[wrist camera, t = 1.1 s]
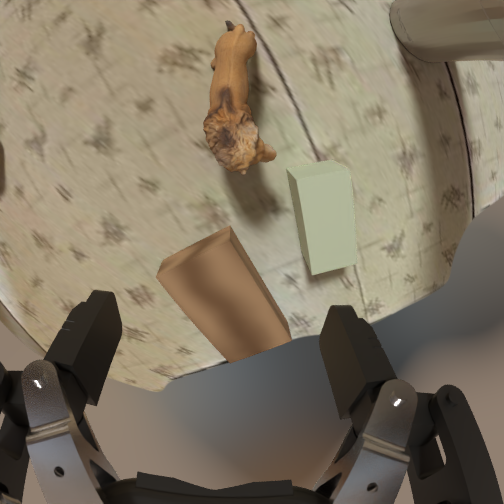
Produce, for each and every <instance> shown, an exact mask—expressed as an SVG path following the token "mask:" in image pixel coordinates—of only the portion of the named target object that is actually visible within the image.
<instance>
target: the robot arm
mask: <svg viewBox="0 0 504 504" xmlns="http://www.w3.org/2000/svg"><path fill="white" fill-rule="evenodd" d="M390 20H391V24H392V27H393V29H394V31H395V33H396V35H397V37H398V38H399V40H400V41H401V43H402V44H403V45H404V46H405V48H406V49H407V50H408V51H410V52H411V53H412V54H413V55H414V56H416V57H417V58H419V59H421V60H423V61H426V62H430V63H436V62H449V61H475V60H491V61H504V0H395V1H394V2H393V3H392V5H391V8H390ZM121 335H122V322H121V318H120V314H119V310H118V306H117V302H116V298H115V295H114V293H113V292H109V291H100V290H94V291H93V292H92V293H91V295H90V296H89V298H88V299H87V301H86V302H81V303H80V304H78V305H77V306H76V307H75V308H73V309H72V311H71V312H70V314H69V316H68V317H67V319H66V321H65V322H64V324H63V325H62V329H60V331H59V332H58V334H57V336H56V338H55V339H54V341H53V343H52V345H51V346H50V348H49V350H48V352H47V354H46V356H45V358H44V359H43V360H36V361H33V362H32V363H30V364H29V365H28V366H27V367H26V368H25V369H24V371H7V370H6V369H5V367H4V366H3V365H2V363H1V362H0V414H1V411H2V412H3V413H4V414H5V417H4V420H3V423H2V426H1V429H0V504H22V497H23V490H24V484H25V478H26V473H27V468H28V463H29V458H30V459H31V462H32V465H33V468H34V471H35V473H36V476H37V479H38V482H39V485H40V487H41V490H42V492H43V494H44V497H45V499H46V501H47V504H394V501H395V499H396V497H397V494H398V492H399V489H400V486H401V484H402V482H403V479H404V476H405V473H406V470H407V472H408V476H409V481H410V484H411V489H412V494H413V499H414V504H503V501H502V496H501V492H500V489H499V485H498V481H497V478H496V475H495V471H494V468H493V465H492V462H491V459H490V456H489V453H488V451H487V448H486V445H485V442H484V440H483V437H482V435H481V432H480V430H479V427H478V425H477V423H476V420H475V418H474V415H473V413H472V411H471V409H470V406H469V404H468V402H467V400H466V398H465V396H464V394H463V393H462V391H461V390H460V389H459V388H457V387H455V386H453V385H444V386H442V387H441V388H440V389H439V390H438V391H437V392H436V393H435V394H431V393H418V392H416V391H415V389H414V388H413V387H412V386H411V385H410V384H409V383H407V382H405V381H403V380H399V379H397V377H396V375H395V373H394V371H393V368H392V366H391V364H390V362H389V360H388V358H387V356H386V354H385V352H384V350H383V348H381V344H380V342H379V340H377V336H376V334H375V332H374V330H373V328H372V327H371V326H370V325H369V324H368V323H367V322H366V321H365V320H364V319H363V318H358V317H357V315H356V313H355V311H354V309H353V307H352V306H351V305H332V306H331V307H330V308H329V311H328V314H327V317H326V320H325V323H324V326H323V328H322V331H321V334H320V340H319V345H320V350H321V354H322V357H323V361H324V364H325V367H326V371H327V374H328V378H329V381H330V385H331V388H332V392H333V395H334V399H335V402H336V406H337V409H338V413H339V417H340V419H346V418H351V420H352V423H353V424H352V425H351V426H350V428H349V430H348V432H347V434H346V436H345V438H344V440H343V442H342V444H341V446H340V448H339V450H338V451H337V453H336V455H335V457H334V459H333V461H332V462H331V464H330V466H329V467H328V469H327V470H326V471H325V472H324V473H323V475H322V476H321V477H320V479H319V480H318V481H317V483H316V484H315V486H314V488H313V489H312V490H309V489H306V488H302V487H297V486H292V481H291V480H282V481H267V482H252V483H248V484H244V485H239V486H234V487H229V488H224V489H218V490H210V489H207V488H204V487H200V486H197V485H194V484H190V483H187V482H184V481H181V480H178V479H176V478H171V477H164V476H158V475H152V474H147V473H142V472H137V478H130V479H123V480H120V478H119V476H118V475H117V473H116V471H115V470H114V468H113V467H112V465H111V464H110V463H109V461H108V460H107V459H106V457H105V455H104V454H103V452H102V450H101V448H100V445H99V443H98V441H97V439H96V437H95V435H94V433H93V430H92V428H91V426H90V423H89V421H88V418H87V416H86V414H85V412H84V409H85V406H86V404H90V405H94V406H97V404H98V401H99V397H100V394H101V391H102V388H103V385H104V382H105V379H106V377H107V374H108V371H109V368H110V365H111V362H112V360H113V357H114V354H115V352H116V349H117V346H118V344H119V341H120V339H121ZM438 435H439V437H440V440H441V443H442V446H443V449H444V452H445V455H446V464H445V465H444V463H443V460H442V456H441V454H440V450H439V447H438V444H437V441H436V438H435V437H436V436H438Z"/></svg>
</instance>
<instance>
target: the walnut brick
mask: <svg viewBox="0 0 504 504" xmlns="http://www.w3.org/2000/svg"><path fill="white" fill-rule="evenodd" d="M156 278H157V279H158V281H159V282H160V283H161V285H162V286H163V287H164V288H165V290H166V291H167V292H168V293H169V295H170V296H171V297H172V298H173V299H174V301H175V302H176V303H177V304H178V305H179V307H180V308H181V309H182V310H183V311H184V313H185V314H186V315H187V316H188V317H189V319H190V320H191V321H192V322H193V323H194V324H195V325H196V327H197V328H198V329H199V330H200V331H201V332H202V333H203V335H204V336H205V337H206V338H207V339H208V340H209V341H210V342H211V343H212V345H213V346H214V347H215V348H216V349H217V350H218V351H219V352H220V353H221V354H222V355H223V356H224V358H225V359H226V360H227V361H228V362H229V363H232V362H235V361H238V360H241V359H244V358H247V357H250V356H253V355H255V354H258V353H261V352H263V351H266V350H269V349H272V348H274V347H277V346H279V345H282V344H284V343H287V342H290V341H292V339H291V335H290V330H289V326H288V322H287V320H286V318H285V317H284V315H283V313H282V312H281V310H280V308H279V307H278V305H277V303H276V302H275V300H274V298H273V297H272V295H271V293H270V292H269V290H268V288H267V287H266V285H265V283H264V282H263V280H262V278H261V277H260V275H259V273H258V272H257V270H256V268H255V267H254V265H253V263H252V261H251V260H250V258H249V256H248V255H247V253H246V251H245V250H244V248H243V246H242V245H241V243H240V241H239V240H238V238H237V236H236V235H235V233H234V231H233V229H232V228H231V226H228V227H226V228H224V229H222V230H220V231H218V232H216V233H214V234H212V235H210V236H208V237H206V238H204V239H202V240H200V241H198V242H197V243H195V244H193V245H191V246H189V247H187V248H185V249H183V250H181V251H179V252H177V253H175V254H174V255H172V256H170V257H168V258H166V259H164V260H163V261H162V263H161V266H160V268H159V271H158V273H157V276H156Z"/></svg>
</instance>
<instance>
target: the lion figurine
mask: <svg viewBox="0 0 504 504" xmlns="http://www.w3.org/2000/svg"><path fill="white" fill-rule="evenodd" d="M225 22H226V25H227V27H228V28H229V29H231V30H232V31H229V32H227V33H225V34H223V35H222V36H221V37H220V39H219V40H218V41H217V44H216V47H215V58H214V59H213V61H212V62H211V67H212V68H213V69H215V71H214V75H213V79H212V83H211V88H210V109H209V111H208V116H207V117H206V118H205V120H204V123H203V124H204V129H203V130H204V131H205V134H206V141H207V142H208V144H209V147H210V149H211V150H212V152H213V153H214V154H215V158H216V160H217V161H218V163H219V165H220V166H224V167H225V168H226V169H227V170H230V172H233V171H240V173H241V174H243V175H244V174H246V170H247V169H248V168H249V166H250V165H254V164H257V163H258V162H259V161H261V162H269V161H272V160H274V159H275V157H276V151H275V150H274V149H273V147H272V146H270V145H268V144H264V142H263V141H262V140H261V139H260V138H259V134H258V127H257V126H256V125H255V123H254V120H253V117H252V116H251V110H250V108H249V106H248V105H247V99H248V92H249V84H248V74H247V68H246V62H247V60H248V59H249V58H250V57H252V56H253V55H254V53H255V50H256V47H257V43H256V40H255V34H254V33H253V32H252V31H248V32H247V33H246V32H245V29H244V26H243V25H242V24H239V25H237V26H234V25H233V24H232V23H231V22H230V21H225Z"/></svg>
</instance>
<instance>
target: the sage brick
mask: <svg viewBox="0 0 504 504" xmlns="http://www.w3.org/2000/svg"><path fill="white" fill-rule="evenodd" d="M286 170H287V175H288V180H289V185H290V190H291V195H292V200H293V205H294V211H295V216H296V221H297V227H298V233H299V238H300V244H301V250H302V254H303V256H304V258H305V261H306V263H307V265H308V267H309V270H310V272H311V274H312V275H316V274H320V273H323V272H327V271H331V270H335V269H339V268H343V267H347V266H350V265H354V264H357V243H356V227H355V213H354V202H353V192H352V182H351V174H350V169H349V168H347V167H345V166H343V165H341V164H340V163H338V162H336V161H334V160H327V161H322V162H316V163H311V164H306V165H301V166H296V167H292V168H287V169H286Z"/></svg>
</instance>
